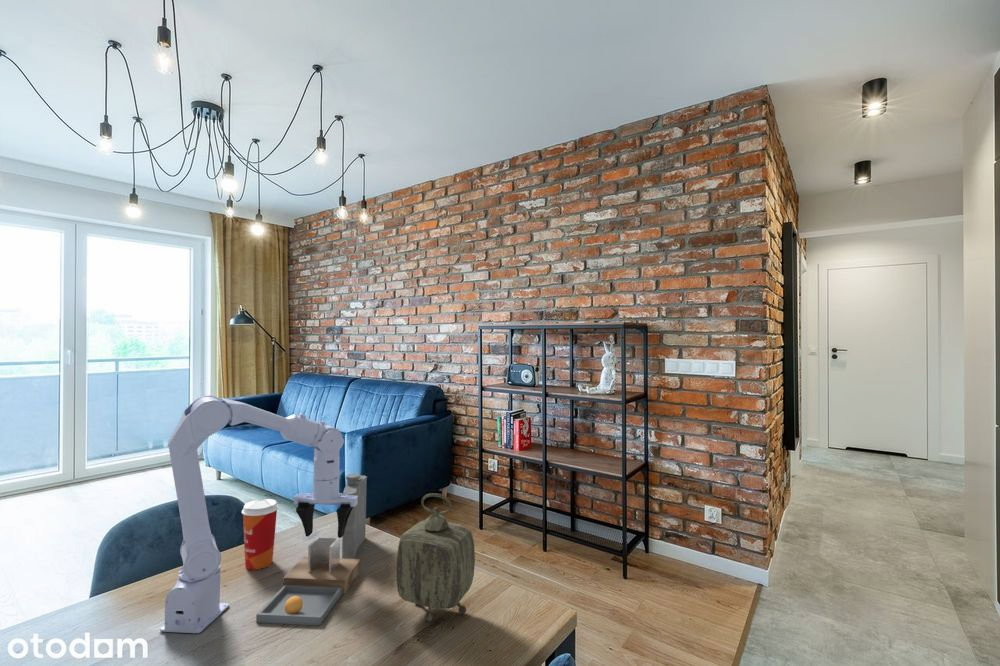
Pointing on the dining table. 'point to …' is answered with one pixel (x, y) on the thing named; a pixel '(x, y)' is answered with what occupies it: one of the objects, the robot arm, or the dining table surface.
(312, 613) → the tray
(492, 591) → the dining table surface
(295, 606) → the ball
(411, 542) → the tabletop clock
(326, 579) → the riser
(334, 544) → the grey arch
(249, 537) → the coffee cup
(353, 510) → the hip flask
